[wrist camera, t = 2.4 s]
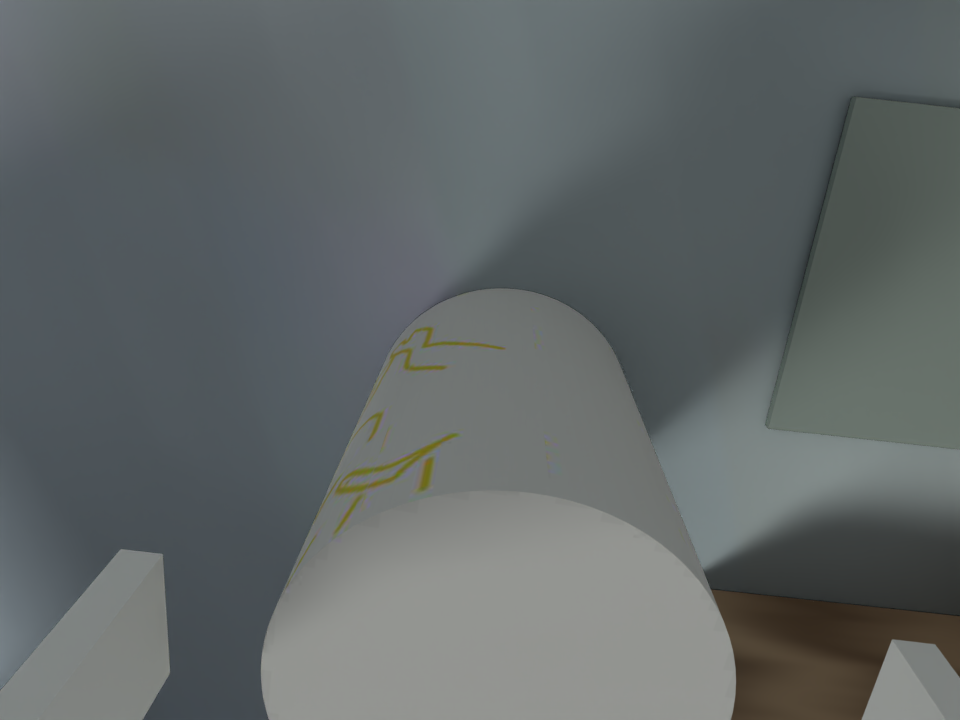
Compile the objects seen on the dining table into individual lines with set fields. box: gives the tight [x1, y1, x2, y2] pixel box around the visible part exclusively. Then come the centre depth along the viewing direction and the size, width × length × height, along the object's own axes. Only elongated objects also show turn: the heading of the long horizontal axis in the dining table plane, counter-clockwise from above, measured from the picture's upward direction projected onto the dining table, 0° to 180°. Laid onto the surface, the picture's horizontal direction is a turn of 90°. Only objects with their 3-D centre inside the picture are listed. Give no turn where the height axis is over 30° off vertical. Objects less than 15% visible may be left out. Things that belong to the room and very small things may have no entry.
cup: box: [261, 288, 736, 720], centre depth 18 cm, size 8×8×12 cm
